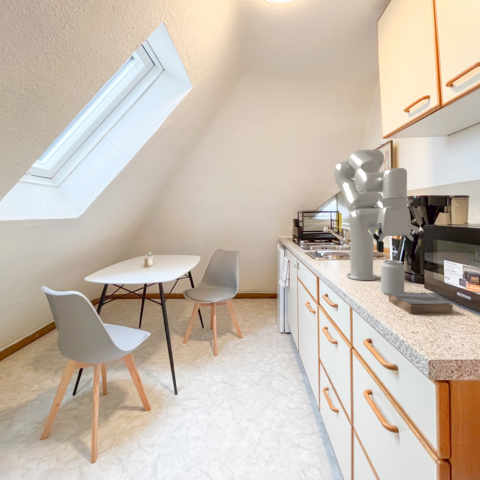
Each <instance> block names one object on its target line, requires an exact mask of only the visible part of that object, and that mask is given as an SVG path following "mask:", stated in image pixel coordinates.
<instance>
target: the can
mask: <svg viewBox="0 0 480 480" xmlns="http://www.w3.org/2000/svg"><path fill="white" fill-rule="evenodd" d="M382 262H383V263H382V264H380V266H381V267H380V291H381V292H382V293H383V294H384V295H387V296H389V294H396V293H405V274H406V273H405V271H406V269H405V268H406V266H405V265H404V262H403V261H401V260H394V259H393V260H392V259H391V260H388V259H387V260H383V261H382Z"/></svg>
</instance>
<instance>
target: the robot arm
mask: <svg viewBox="0 0 480 480" xmlns="http://www.w3.org/2000/svg"><path fill="white" fill-rule="evenodd" d="M384 161H385V155H384V153H383V151H381V150H379V149H359V150H355V151H353V152H352V153H351V154H350V156H349V157H348V160H344V161H340V162H338V163H337V164H336V165H335V167H334V172H333V175H334V179H335V183H336V185H337V186H338V188H339V190H340V191H341V193H342V196H343V199H344V201H345V203H346V204H345V205H346V207H347V209H348V210H349V211H350V212H349V215H348V224H349V233H350V270H349V271H350V272H348V273H347V274H346V277H347V278H348V279H349V280H350V279H351V280H354V281H355V280H356V281H375V280H377V278H378V277H377V274H374V240H375V241H376V250H377V253H381V254H383V253H384V250H385V247H384V246H385V245H384V244H385V242H384V241H383V240H384V239H385V238H386V237H399V236H401V237H402V238H404V239H405V240H404V241H403V244H404V245H403V251H404V252H406V253H411V252H412V249H413V241H414V239H415V238H416V237H417V235H418V233H419V231H420V230H421V229H420V227H418V226H416V225H413V224H412V222H411V221H412V220H411V219H412V218H411V213H410V208H409V207H408V205H410V204H411V201H410V200H408V171H407V169H406V168H403V167H394V168H389V169H386V170H384V171H383V172H382V171H380V172H379V170H380V169H381V167H382V166H383V165H384ZM411 230H412V231H411Z"/></svg>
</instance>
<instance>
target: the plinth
mask: <svg viewBox="0 0 480 480" xmlns="http://www.w3.org/2000/svg"><path fill="white" fill-rule="evenodd" d="M388 302H389V303H390V304H392V305H394V306H396V307H398V308H399V309H401V310H403V311H405V312H406V313H408V314H410V315H432V314H433V315H436V314H437V315H438V314H439V315H440V314H453V310H454V309H453V306H454V305H453V304H451V303H450V302H447V301H446V300H443V299H440V298H438V297H436V296H433V295H431V294H429V293H426V292H407V293H406V292H404V293H396V294H389V295H388Z"/></svg>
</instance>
